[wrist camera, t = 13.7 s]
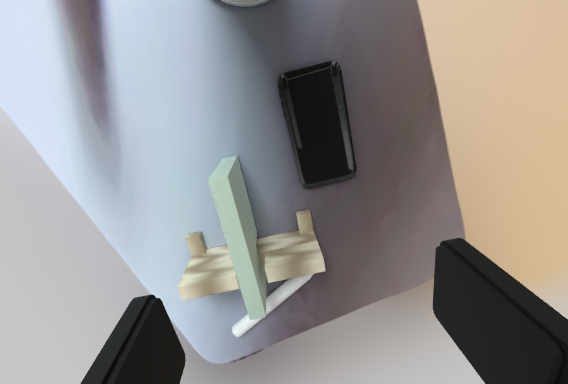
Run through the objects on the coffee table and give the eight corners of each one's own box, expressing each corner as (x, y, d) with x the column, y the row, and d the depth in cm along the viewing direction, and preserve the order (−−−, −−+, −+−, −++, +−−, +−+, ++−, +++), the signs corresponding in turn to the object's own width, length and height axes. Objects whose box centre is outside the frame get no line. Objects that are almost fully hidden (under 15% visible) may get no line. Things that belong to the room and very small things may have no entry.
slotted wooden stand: (203, 278, 42) (190, 319, 34) (187, 234, 39) (168, 267, 31) (317, 255, 42) (328, 290, 34) (309, 209, 39) (319, 236, 31)
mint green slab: (266, 267, 42) (266, 317, 32) (253, 269, 42) (250, 320, 32) (237, 155, 36) (227, 176, 26) (222, 158, 36) (207, 180, 26)
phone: (339, 58, 32) (357, 176, 37) (337, 60, 33) (354, 174, 38) (275, 75, 32) (301, 190, 37) (274, 76, 33) (300, 187, 38)
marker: (310, 256, 42) (313, 265, 40) (319, 264, 43) (322, 273, 40) (232, 323, 45) (230, 334, 43) (241, 329, 46) (240, 341, 44)
